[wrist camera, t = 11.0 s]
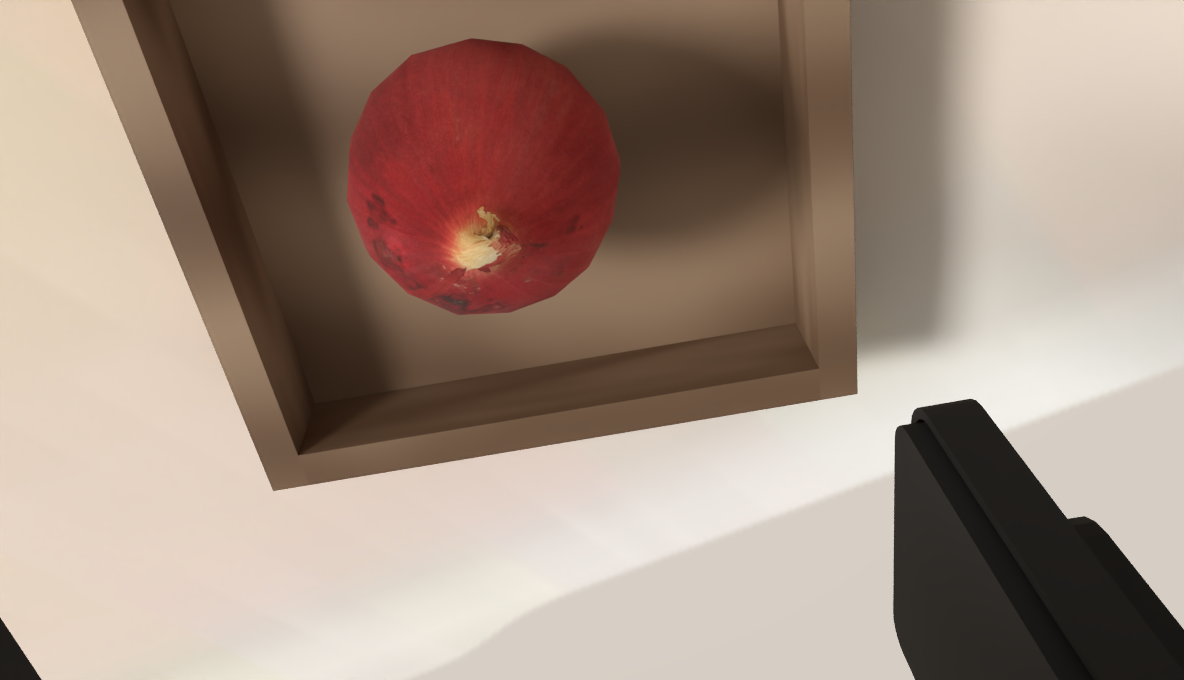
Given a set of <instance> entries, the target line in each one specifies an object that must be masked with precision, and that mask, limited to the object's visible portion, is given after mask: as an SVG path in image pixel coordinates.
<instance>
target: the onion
mask: <svg viewBox="0 0 1184 680" xmlns="http://www.w3.org/2000/svg"><path fill="white" fill-rule="evenodd" d="M619 175H620V158H619V155H618V152H617V149H616V146H615V143H614V140H613V136H612V133H611V130H610V127H609V124H608V121H607V117H606V114H605V112H604V111H603V109H602V108H601V107H600V105H599V104H598V103H597V102H596V100H595V99H594V98H593V97H592V96H591V95H590V93H589V92H588V91H587V90H586V89H585V88H584V86H583V85H582V84H581V83H580V82H579V81H578V79H577V78H576V77H575V76H574V75H573V74H572V73H571V71H570V70H569V69H568V68H567V67H565V66H564V65H562V64H560V63H558V62H556V61H554V60H552V59H550V58H548V57H546V56H544V55H542V54H540V53H539V52H537V51H535V50H533V49H531V48H529V47H527V46H525V45H523V44H518V43H509V42H501V41H492V40H483V39H475V38H470V39H466V40H463V41H459V42H456V43H452V44H448V45H445V46H441V47H438V48H434V49H431V50H427V51H424V52H420V53H417V54H413V55H411V56H410V57H409V58H407V59H406V60H405V61H404V62H403V63H402V64H401V65H400V66H399V67H398V68H397V69H396V70H394V71H393V72H392V73H391V74H390V75H389V76H388V77H387V78H386V79H385V80H384V81H383V82H382V83H380V84H379V85H378V86H377V87H376V88H375V89H374V90H373V91H372V92H371V93H370V96H369V98H368V100H367V103H366V105H365V107H364V110H363V112H362V114H361V117H360V119H359V121H358V123H357V126H356V128H355V130H354V133H353V135H352V137H351V142H350V150H349V167H348V189H347V202H348V205H349V207H350V210H351V212H352V215H353V217H354V220H355V223H356V225H357V228H358V230H359V233H360V235H361V238H362V240H363V243H364V246H365V248H366V250H367V252H368V253H369V255H370V257H371V258H372V259H373V260H374V261H375V262H376V263H377V264H378V265H379V266H380V267H381V268H382V269H383V270H384V271H385V272H386V273H387V274H388V275H389V276H390V277H391V278H392V279H393V280H394V281H396V282H397V283H398V284H399V285H400V286H401V287H402V288H403V289H404V290H405V291H406V292H407V293H408V294H410V295H412V296H415V297H417V298H419V299H422V300H424V301H426V302H429V303H431V304H433V305H436V306H438V307H440V308H442V309H445V310H447V311H449V312H452V313H454V314H456V315H469V314H492V313H510V312H513V311H516V310H518V309H521V308H524V307H526V306H529V305H532V304H534V303H537V302H540V301H542V300H545V299H548V298H551V297H553V296H555V295H556V294H558V293H559V292H560V291H561V290H562V289H564V288H565V287H566V286H567V285H568V284H569V283H571V282H572V281H573V280H574V279H575V278H577V277H578V276H579V275H580V274H581V273H582V272H584V271H585V270H586V269H587V268H588V267H589V266H590V264H591V262H592V260H593V258H594V256H595V254H596V252H597V250H598V248H599V246H600V244H601V242H602V240H603V238H604V236H605V234H606V232H607V230H608V228H609V226H610V224H611V223H612V221H613V217H614V210H615V203H616V196H617V189H618V182H619Z"/></svg>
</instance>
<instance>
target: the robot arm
mask: <svg viewBox="0 0 1184 680" xmlns="http://www.w3.org/2000/svg"><path fill="white" fill-rule="evenodd" d="M894 494H895V495H894V496H895V497H894V602H893V605H894V606H893V607H894V609H893V613H894V623H895V628H896V632H897V637H898V640H899V643H900V646H901V649H902V651H903V654H904V656H905V658H906V660H907V662H908V665H909V667H910V669H911V671H912V673H913V676H914V678H915V680H1184V629H1183V628H1182V627H1181V626H1180V624H1179V623H1178V622H1177V620H1176V619H1175V618H1174V617H1173V615H1172V614H1171V613H1170V612H1169V611H1168V609H1167V608H1166V607H1165V605H1164V604H1163V603H1162V602H1161V600H1160V599H1159V598H1158V597H1157V595H1156V594H1155V593H1154V592H1153V590H1152V589H1151V588H1150V587H1149V585H1148V584H1147V583H1146V582H1145V580H1144V579H1143V578H1142V577H1141V575H1140V574H1139V573H1138V571H1137V570H1136V569H1135V568H1134V566H1133V565H1132V564H1131V563H1130V561H1129V560H1128V559H1127V558H1126V557H1125V555H1124V554H1123V553H1122V551H1121V550H1120V549H1119V548H1118V546H1117V545H1116V544H1115V543H1114V541H1113V540H1112V539H1111V538H1110V536H1109V535H1108V534H1107V533H1106V532H1105V531H1104V530H1103V529H1102V528H1101V527H1100V526H1099V525H1098V524H1097V523H1096V522H1095V521H1093V520H1091V519H1089V518H1087V517H1077V518H1071V519H1067V518H1066V516H1065V515H1064V514H1063V513H1062V511H1061V510H1060V509H1059V508H1058V506H1057V505H1056V503H1055V502H1054V501H1053V499H1052V498H1051V497H1050V495H1049V494H1048V493H1047V492H1046V490H1045V489H1044V487H1043V486H1042V485H1041V483H1040V482H1039V481H1038V480H1037V478H1036V477H1035V476H1034V474H1033V473H1032V472H1031V470H1030V469H1029V468H1028V466H1027V465H1026V464H1025V462H1024V461H1023V460H1022V458H1021V457H1020V456H1019V455H1018V453H1017V452H1016V450H1015V449H1014V448H1013V447H1012V445H1011V444H1010V443H1009V441H1008V440H1007V439H1006V437H1005V436H1004V435H1003V433H1002V432H1001V431H1000V429H999V428H998V427H997V425H996V424H995V423H994V421H993V420H992V419H991V417H990V416H989V415H988V414H987V412H986V411H985V410H984V408H983V407H982V406H981V405H980V404H979V403H978V402H977V401H976V400H973V399H967V400H961V401H955V402H949V403H944V404H938V405H932V406H926V407H920V408H917V409H915V410H914V412H913V415H912V420H911V424H908V425H902V426H899V427H897V429H896V432H895V489H894ZM0 680H41V678H40V677H39V675H38V674H37V672H36V671H35V669H34V668H33V666H32V665H31V663H30V662H29V660H28V659H27V657H26V656H25V654H24V653H23V651H22V650H21V648H20V647H19V645H18V644H17V642H16V641H15V639H14V638H13V636H12V635H11V633H10V632H9V630H8V629H7V627H6V626H5V624H4V623H3V621H2V620H1V618H0Z"/></svg>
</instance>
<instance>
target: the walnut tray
mask: <svg viewBox="0 0 1184 680" xmlns="http://www.w3.org/2000/svg"><path fill="white" fill-rule="evenodd" d="M71 1H72V4H73V6H74V8H75V11H76V13H77V16H78V18H79V21H80V23H81V25H82V28H83V30H84V33H85V35H86V37H87V40H88V42H89V45H90V47H91V50H92V52H93V54H94V57H95V59H96V62H97V64H98V67H99V69H100V71H101V74H102V76H103V79H104V81H105V84H106V86H107V88H108V91H109V93H110V96H111V98H112V101H113V103H114V105H115V108H116V110H117V113H118V115H119V118H120V120H121V122H122V125H123V127H124V130H125V132H126V135H127V137H128V139H129V142H130V144H131V147H132V149H133V152H134V154H135V156H136V159H137V161H138V164H139V166H140V169H141V171H142V173H143V176H144V178H145V181H146V183H147V186H148V188H149V190H150V193H151V195H152V198H153V200H154V203H155V205H156V207H157V210H158V212H159V215H160V217H161V220H162V222H163V224H164V227H165V229H166V232H167V234H168V237H169V239H170V241H171V244H172V246H173V249H174V251H175V254H176V256H177V258H178V261H179V263H180V266H181V268H182V271H183V273H184V275H185V278H186V280H187V283H188V285H189V287H190V290H191V292H192V295H193V297H194V300H195V302H196V304H197V307H198V309H199V312H200V314H201V317H202V319H203V321H204V324H205V326H206V329H207V331H208V334H209V336H210V338H211V341H212V343H213V346H214V348H215V351H216V353H217V355H218V358H219V360H220V363H221V365H222V368H223V370H224V372H225V375H226V377H227V380H228V382H229V385H230V387H231V389H232V392H233V394H234V397H235V399H236V402H237V404H238V406H239V409H240V411H241V414H242V416H243V419H244V421H245V423H246V426H247V428H248V431H249V433H250V436H251V438H252V440H253V443H254V445H255V448H256V450H257V453H258V455H259V457H260V460H261V462H262V465H263V467H264V470H265V472H266V474H267V477H268V479H269V482H270V484H271V487H272V489H273V491H276V490H282V489H288V488H294V487H300V486H306V485H312V484H318V483H324V482H330V481H336V480H342V479H348V478H354V477H360V476H366V475H372V474H378V473H384V472H390V471H396V470H402V469H408V468H414V467H420V466H426V465H432V464H438V463H444V462H450V461H456V460H462V459H468V458H474V457H480V456H486V455H492V454H498V453H504V452H510V451H516V450H522V449H528V448H534V447H540V446H546V445H552V444H558V443H564V442H570V441H576V440H582V439H588V438H594V437H601V436H607V435H613V434H619V433H625V432H631V431H637V430H643V429H649V428H655V427H661V426H667V425H673V424H679V423H685V422H691V421H697V420H703V419H709V418H715V417H721V416H727V415H733V414H739V413H745V412H751V411H757V410H763V409H769V408H775V407H781V406H787V405H793V404H799V403H805V402H811V401H817V400H823V399H829V398H835V397H841V396H847V395H853V394H857V343H856V291H855V239H854V187H853V135H852V83H851V32H850V0H71ZM470 38H475V39H483V40H492V41H501V42H509V43H518V44H523V45H525V46H527V47H529V48H531V49H533V50H535V51H537V52H539V53H540V54H542V55H544V56H546V57H548V58H550V59H552V60H554V61H556V62H558V63H560V64H562V65H564V66H565V67H567V68H568V69H569V70H570V71H571V73H572V74H573V75H574V76H575V77H576V78H577V79H578V81H579V82H580V83H581V84H582V85H583V86H584V88H585V89H586V90H587V91H588V92H589V93H590V95H591V96H592V97H593V98H594V99H595V100H596V102H597V103H598V104H599V105H600V107H601V108H602V109H603V111H604V112H605V114H606V117H607V121H608V124H609V127H610V130H611V133H612V136H613V140H614V143H615V146H616V149H617V152H618V155H619V158H620V175H619V182H618V189H617V196H616V203H615V210H614V217H613V221H612V223H611V224H610V226H609V228H608V230H607V232H606V234H605V236H604V238H603V240H602V242H601V244H600V246H599V248H598V250H597V252H596V254H595V256H594V258H593V260H592V262H591V264H590V266H589V267H588V268H587V269H586V270H585V271H584V272H582V273H581V274H580V275H579V276H578V277H577V278H575V279H574V280H573V281H572V282H571V283H569V284H568V285H567V286H566V287H565V288H564V289H562V290H561V291H560V292H559V293H558V294H556V295H555V296H553V297H551V298H548V299H545V300H542V301H540V302H537V303H534V304H532V305H529V306H526V307H524V308H521V309H518V310H516V311H513V312H510V313H492V314H469V315H456V314H454V313H452V312H449V311H447V310H445V309H442V308H440V307H438V306H436V305H433V304H431V303H429V302H426V301H424V300H422V299H419V298H417V297H415V296H412V295H410V294H408V293H407V292H406V291H405V290H404V289H403V288H402V287H401V286H400V285H399V284H398V283H397V282H396V281H394V280H393V279H392V278H391V277H390V276H389V275H388V274H387V273H386V272H385V271H384V270H383V269H382V268H381V267H380V266H379V265H378V264H377V263H376V262H375V261H374V260H373V259H372V258H371V257H370V255H369V253H368V252H367V250H366V248H365V246H364V243H363V240H362V238H361V235H360V233H359V230H358V228H357V225H356V223H355V220H354V217H353V215H352V212H351V210H350V207H349V205H348V202H347V189H348V167H349V150H350V142H351V137H352V135H353V133H354V130H355V128H356V126H357V123H358V121H359V119H360V117H361V114H362V112H363V110H364V107H365V105H366V103H367V100H368V98H369V96H370V93H371V92H372V91H373V90H374V89H375V88H376V87H377V86H378V85H379V84H380V83H382V82H383V81H384V80H385V79H386V78H387V77H388V76H389V75H390V74H391V73H392V72H393V71H394V70H396V69H397V68H398V67H399V66H400V65H401V64H402V63H403V62H404V61H405V60H406V59H407V58H409V57H410V56H411V55H413V54H417V53H420V52H424V51H427V50H431V49H434V48H438V47H441V46H445V45H448V44H452V43H456V42H459V41H463V40H466V39H470Z"/></svg>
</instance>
